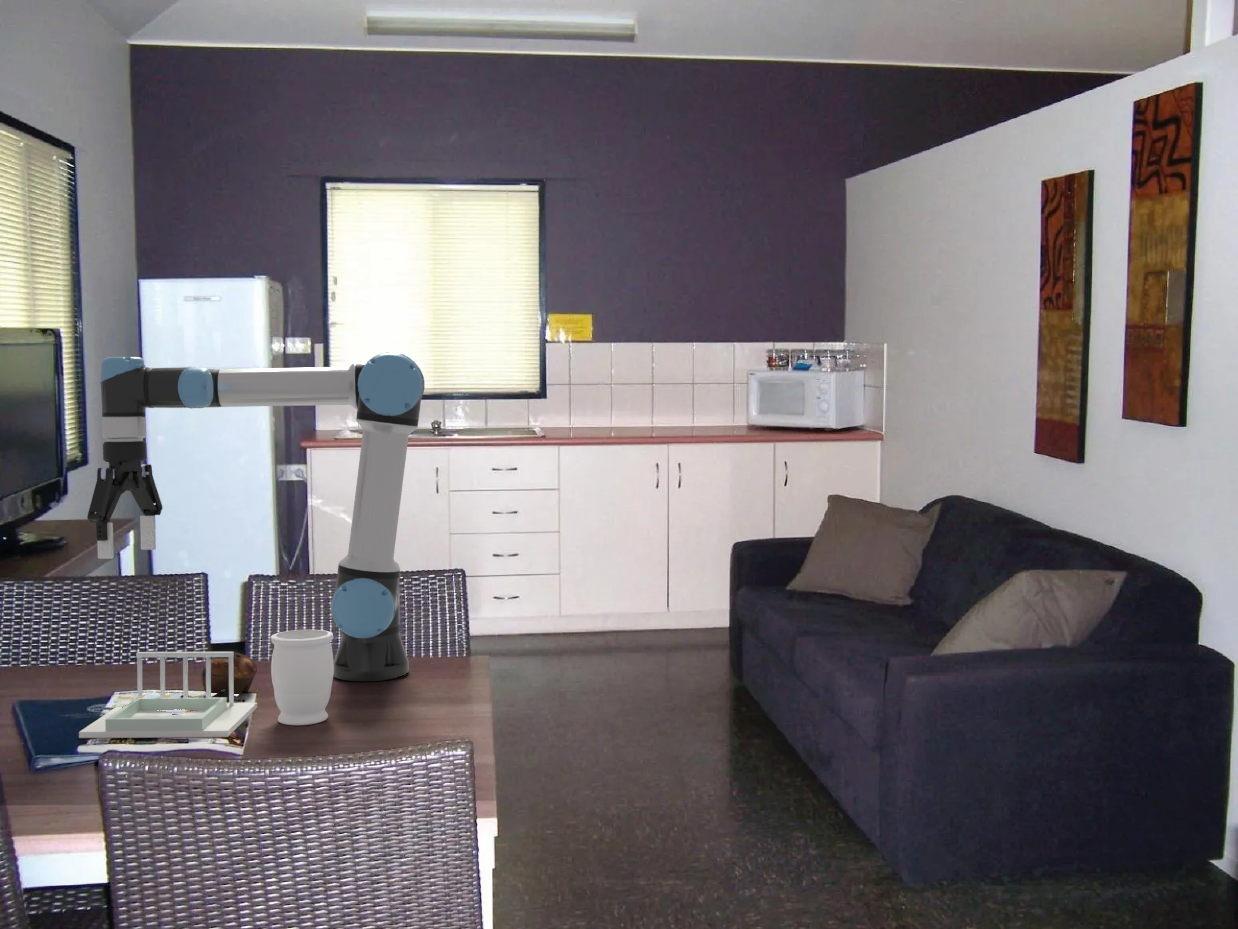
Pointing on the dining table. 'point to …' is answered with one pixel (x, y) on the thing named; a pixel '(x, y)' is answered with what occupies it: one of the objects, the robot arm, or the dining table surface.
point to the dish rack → (149, 722)
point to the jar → (302, 675)
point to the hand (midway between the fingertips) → (127, 554)
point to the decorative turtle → (241, 669)
